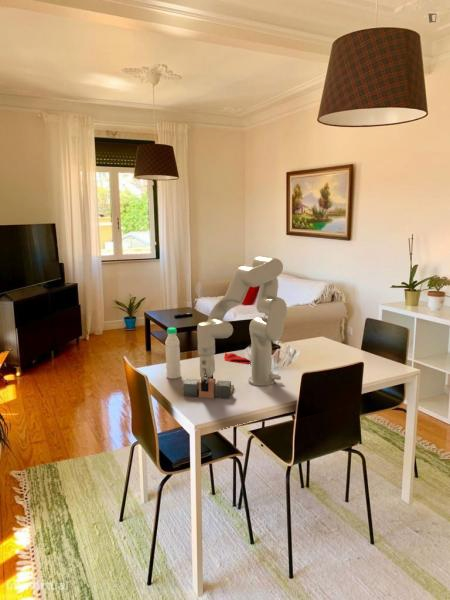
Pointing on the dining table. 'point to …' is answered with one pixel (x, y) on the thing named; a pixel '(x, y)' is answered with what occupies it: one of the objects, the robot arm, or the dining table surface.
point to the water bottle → (172, 354)
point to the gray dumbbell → (221, 388)
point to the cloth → (235, 358)
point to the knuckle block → (210, 386)
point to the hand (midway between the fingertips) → (207, 387)
